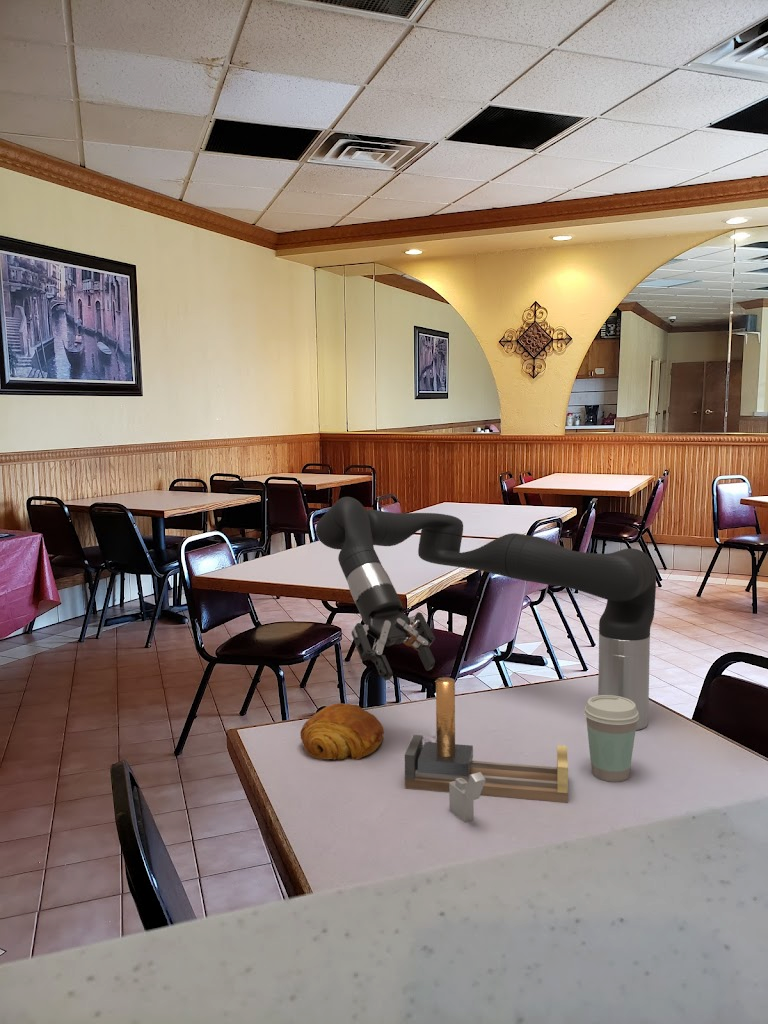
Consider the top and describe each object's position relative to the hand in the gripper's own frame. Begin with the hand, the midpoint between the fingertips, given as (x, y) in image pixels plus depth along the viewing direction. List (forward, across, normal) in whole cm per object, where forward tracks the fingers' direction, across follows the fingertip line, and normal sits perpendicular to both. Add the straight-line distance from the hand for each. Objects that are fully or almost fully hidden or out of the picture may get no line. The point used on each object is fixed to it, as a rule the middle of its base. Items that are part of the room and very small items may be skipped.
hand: (410, 673), depth 126 cm
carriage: (+15, -1, -3) cm, 16 cm away
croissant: (+3, +6, -20) cm, 21 cm away
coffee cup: (+27, -24, +5) cm, 36 cm away
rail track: (+20, -5, -1) cm, 21 cm away
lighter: (+26, +4, +4) cm, 26 cm away
